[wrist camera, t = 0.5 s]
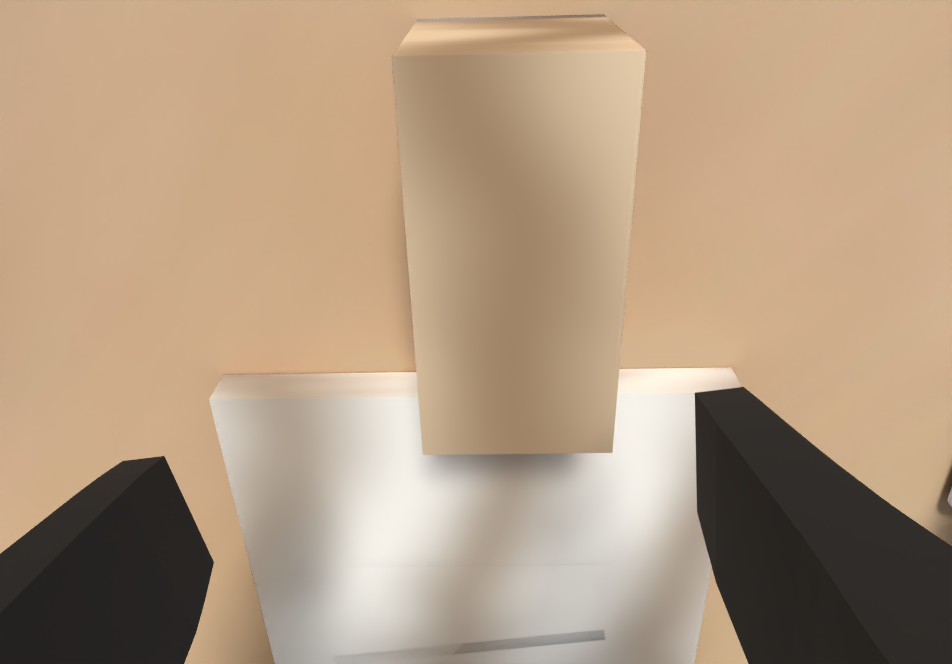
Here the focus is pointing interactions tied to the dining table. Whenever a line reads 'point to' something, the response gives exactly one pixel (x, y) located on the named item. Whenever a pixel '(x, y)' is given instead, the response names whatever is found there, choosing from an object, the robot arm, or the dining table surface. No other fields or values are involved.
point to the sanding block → (518, 226)
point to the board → (465, 527)
